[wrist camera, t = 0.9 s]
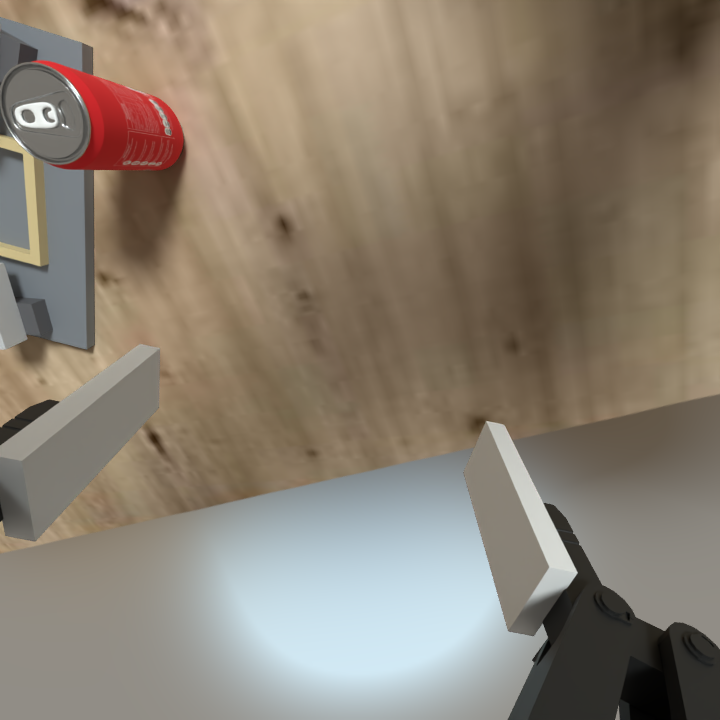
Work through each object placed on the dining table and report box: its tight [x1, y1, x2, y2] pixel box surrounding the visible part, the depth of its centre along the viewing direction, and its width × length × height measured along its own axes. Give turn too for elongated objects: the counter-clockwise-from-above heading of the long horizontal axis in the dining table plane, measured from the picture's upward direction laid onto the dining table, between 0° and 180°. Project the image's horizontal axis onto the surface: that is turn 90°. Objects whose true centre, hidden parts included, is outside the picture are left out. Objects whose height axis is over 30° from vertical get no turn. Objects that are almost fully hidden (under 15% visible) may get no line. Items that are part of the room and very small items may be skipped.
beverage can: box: [0, 60, 184, 170], centre depth 27 cm, size 5×5×12 cm
